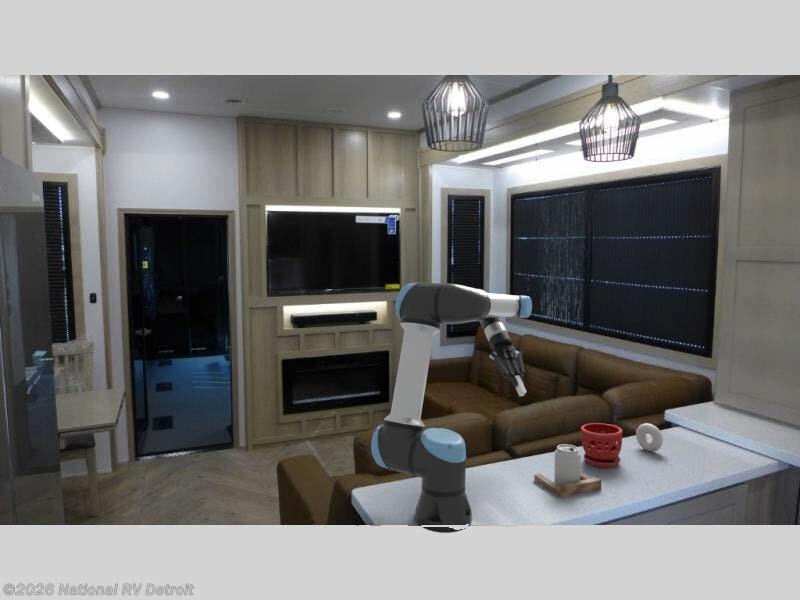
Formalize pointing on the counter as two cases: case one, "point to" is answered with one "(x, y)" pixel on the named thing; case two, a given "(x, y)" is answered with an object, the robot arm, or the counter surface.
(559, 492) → the walnut frame
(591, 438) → the plant pot
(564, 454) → the can
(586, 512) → the counter surface
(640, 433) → the donut
